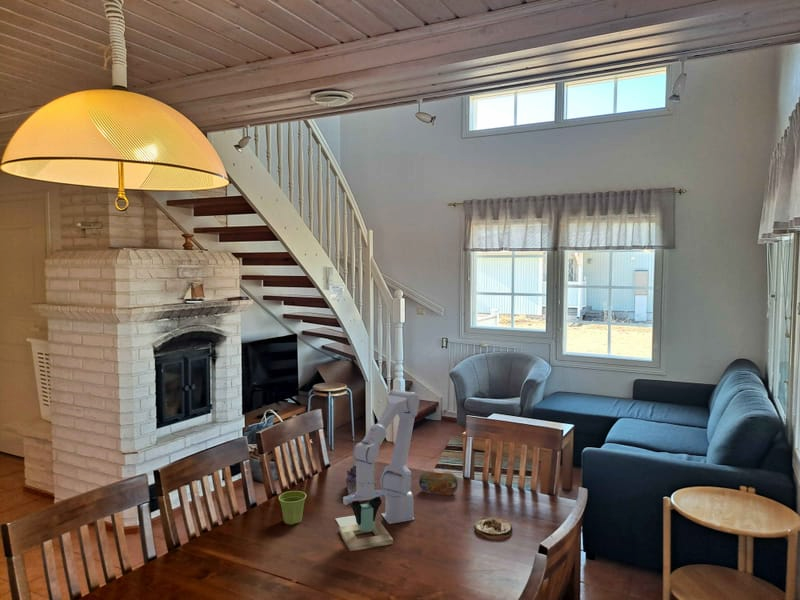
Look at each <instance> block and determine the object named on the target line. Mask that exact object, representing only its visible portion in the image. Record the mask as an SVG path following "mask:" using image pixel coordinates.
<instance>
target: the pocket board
mask: <svg viewBox="0 0 800 600" xmlns="http://www.w3.org/2000/svg"><path fill="white" fill-rule="evenodd" d="M338 533H339V534H340V537H341V538H342V540H343V541H344V543H345V546H347V549H348V550H349V552H355V551H360V550H364V549H370V548H377V547H381V546H382V547H383V546H389V545H393V544H394V539H393V537H392V536H391V534H390V533H389V532H388V531H387V529H386V528H385V526H384V525H383V524H382V522H381V521H380V520H375V521H374V522H373V530H368V531H362V532H361V530H360V529H359V527H358V524H356V525H350V526H343V527H339V526H338ZM366 533H373V534H374V536H367V537H362V538H358V537H357V535H360V534H366Z"/></svg>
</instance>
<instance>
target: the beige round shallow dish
mask: <svg viewBox="0 0 800 600" xmlns="http://www.w3.org/2000/svg"><path fill="white" fill-rule="evenodd" d="M473 527H474V529H475V532H476V535H477V536H478V537H481V538H483V539H486V540H489V539H491V540H490V541H492V540H500V539H501V540H503V539H507V538H509V537H510V536H512V535H513V526H512V524H511V523H510V521H508V520H505V519H501V518H496V517H480V519H477V521H475V523H474V526H473ZM511 534H512V535H511Z"/></svg>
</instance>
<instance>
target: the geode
mask: <svg viewBox="0 0 800 600" xmlns="http://www.w3.org/2000/svg"><path fill="white" fill-rule="evenodd" d="M346 473H347V477H346V479H345V483H346V484H345V485H346V488H347V493H348V496H349V495H351V494H354V493H356V466H355V464H354V465H353V466H352V467H351V468H350V469H349V470H346ZM376 486H377V484H376V481H375V480H374V490H377V489H376Z"/></svg>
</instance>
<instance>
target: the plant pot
mask: <svg viewBox="0 0 800 600" xmlns="http://www.w3.org/2000/svg"><path fill="white" fill-rule="evenodd" d="M306 498H307V493H305V492H304V491H300V490H290V491H286V492H285V491H284V492H283V493H281V494H279V496H278V500H279V503H280V506H281V511H282V513H281V514H282V516H283V522H284V523H285V524H286V525H295V524H300V523H302V521H303V516H304V515H303V512H304V506H305V502H306Z"/></svg>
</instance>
